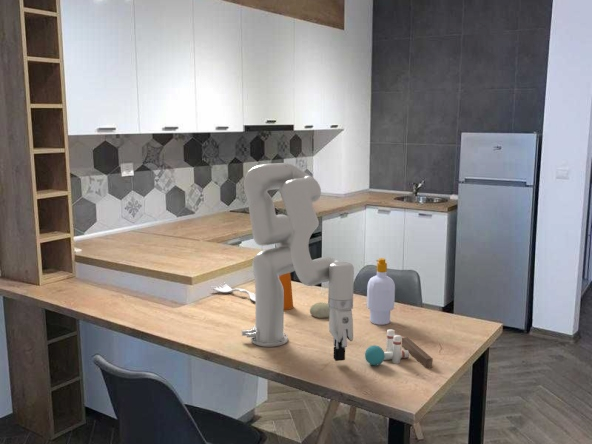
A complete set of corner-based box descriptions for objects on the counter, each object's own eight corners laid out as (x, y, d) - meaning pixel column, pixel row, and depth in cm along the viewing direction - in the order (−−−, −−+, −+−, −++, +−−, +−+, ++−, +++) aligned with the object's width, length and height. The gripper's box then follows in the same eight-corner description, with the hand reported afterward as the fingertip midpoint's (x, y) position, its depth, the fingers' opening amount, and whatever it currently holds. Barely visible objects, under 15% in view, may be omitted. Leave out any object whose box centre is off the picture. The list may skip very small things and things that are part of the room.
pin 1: (387, 357, 189) (388, 332, 187) (384, 354, 191) (385, 329, 190) (395, 356, 189) (396, 331, 188) (391, 353, 192) (392, 328, 190)
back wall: (426, 368, 181) (426, 359, 180) (401, 346, 198) (402, 337, 198) (432, 367, 181) (432, 358, 181) (407, 345, 199) (407, 337, 198)
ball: (388, 366, 182) (369, 371, 183) (385, 350, 186) (366, 355, 188) (382, 355, 178) (363, 360, 179) (380, 339, 183) (361, 344, 184)
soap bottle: (360, 322, 221) (362, 259, 217) (376, 315, 229) (378, 254, 224) (383, 328, 214) (385, 263, 210) (399, 321, 222) (401, 259, 218)
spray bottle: (269, 311, 232) (269, 245, 227) (279, 303, 242) (279, 240, 237) (285, 313, 229) (286, 247, 225) (295, 305, 239) (296, 242, 235)
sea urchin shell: (317, 304, 235) (329, 294, 231) (328, 321, 233) (341, 310, 228) (303, 310, 228) (315, 299, 224) (314, 327, 226) (327, 316, 221)
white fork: (223, 288, 263) (223, 281, 262) (280, 302, 245) (280, 294, 244) (208, 293, 256) (208, 285, 255) (267, 307, 238) (267, 299, 237)
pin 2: (394, 364, 184) (395, 338, 182) (391, 360, 186) (392, 335, 185) (401, 363, 185) (402, 337, 183) (398, 360, 187) (399, 334, 185)
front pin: (384, 353, 186) (409, 351, 187) (381, 351, 188) (406, 348, 190) (383, 361, 186) (409, 358, 188) (381, 358, 188) (406, 356, 190)
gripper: (360, 309, 174) (359, 368, 177) (344, 294, 188) (342, 349, 191) (336, 311, 172) (335, 370, 175) (321, 296, 186) (320, 351, 189)
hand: (339, 359), depth 183 cm, fingers closed
